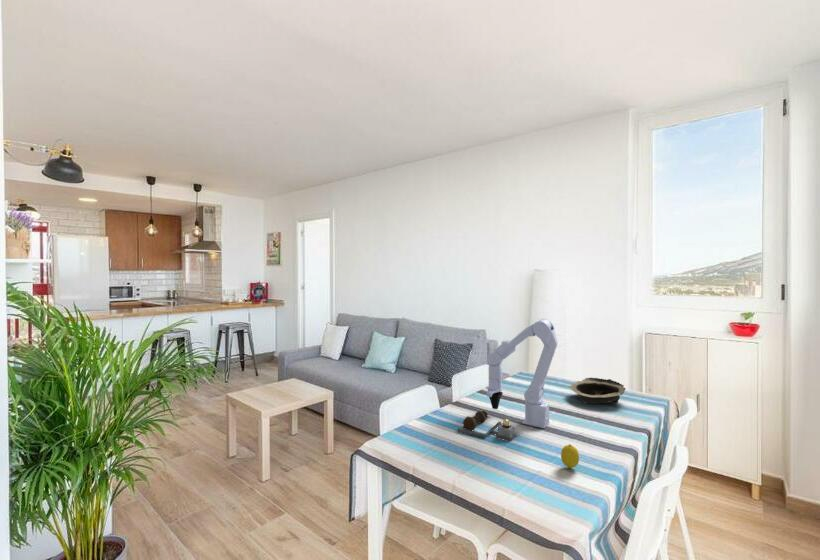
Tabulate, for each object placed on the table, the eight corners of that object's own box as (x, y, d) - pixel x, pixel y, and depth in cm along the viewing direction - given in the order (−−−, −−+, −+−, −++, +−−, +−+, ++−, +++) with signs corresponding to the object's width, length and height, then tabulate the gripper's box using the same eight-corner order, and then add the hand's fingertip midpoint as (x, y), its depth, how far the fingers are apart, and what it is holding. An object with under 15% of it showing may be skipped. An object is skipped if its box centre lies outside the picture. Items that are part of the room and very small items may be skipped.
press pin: (510, 426, 156) (510, 419, 156) (508, 428, 154) (508, 421, 154) (504, 425, 158) (504, 418, 158) (502, 427, 156) (502, 420, 156)
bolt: (486, 423, 175) (470, 434, 162) (477, 415, 177) (460, 425, 165) (492, 413, 173) (477, 423, 161) (483, 405, 175) (467, 414, 163)
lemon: (557, 464, 135) (558, 441, 134) (573, 464, 135) (574, 440, 135) (565, 473, 129) (566, 448, 129) (582, 472, 130) (582, 448, 129)
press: (522, 429, 164) (522, 418, 164) (508, 444, 150) (508, 433, 149) (474, 418, 175) (475, 408, 175) (457, 431, 161) (457, 421, 161)
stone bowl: (627, 397, 202) (627, 379, 201) (622, 417, 181) (623, 397, 180) (574, 389, 215) (575, 372, 214) (564, 406, 194) (565, 387, 193)
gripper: (492, 373, 186) (492, 402, 187) (480, 380, 174) (480, 411, 175) (507, 375, 183) (507, 405, 183) (495, 383, 170) (495, 415, 171)
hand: (495, 408), depth 179 cm, fingers closed
